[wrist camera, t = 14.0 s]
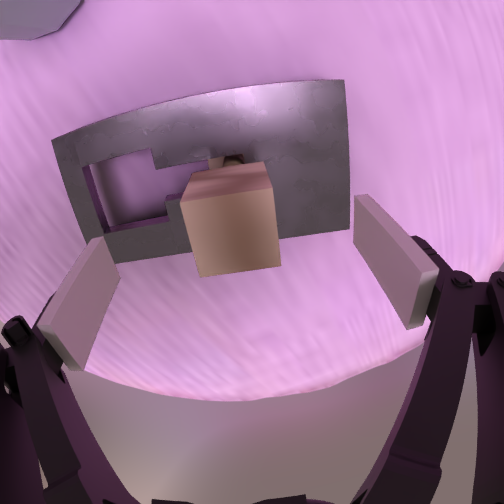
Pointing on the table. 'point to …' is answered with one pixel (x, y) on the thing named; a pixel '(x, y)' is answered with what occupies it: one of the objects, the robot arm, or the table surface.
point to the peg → (231, 217)
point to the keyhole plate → (219, 145)
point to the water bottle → (33, 17)
